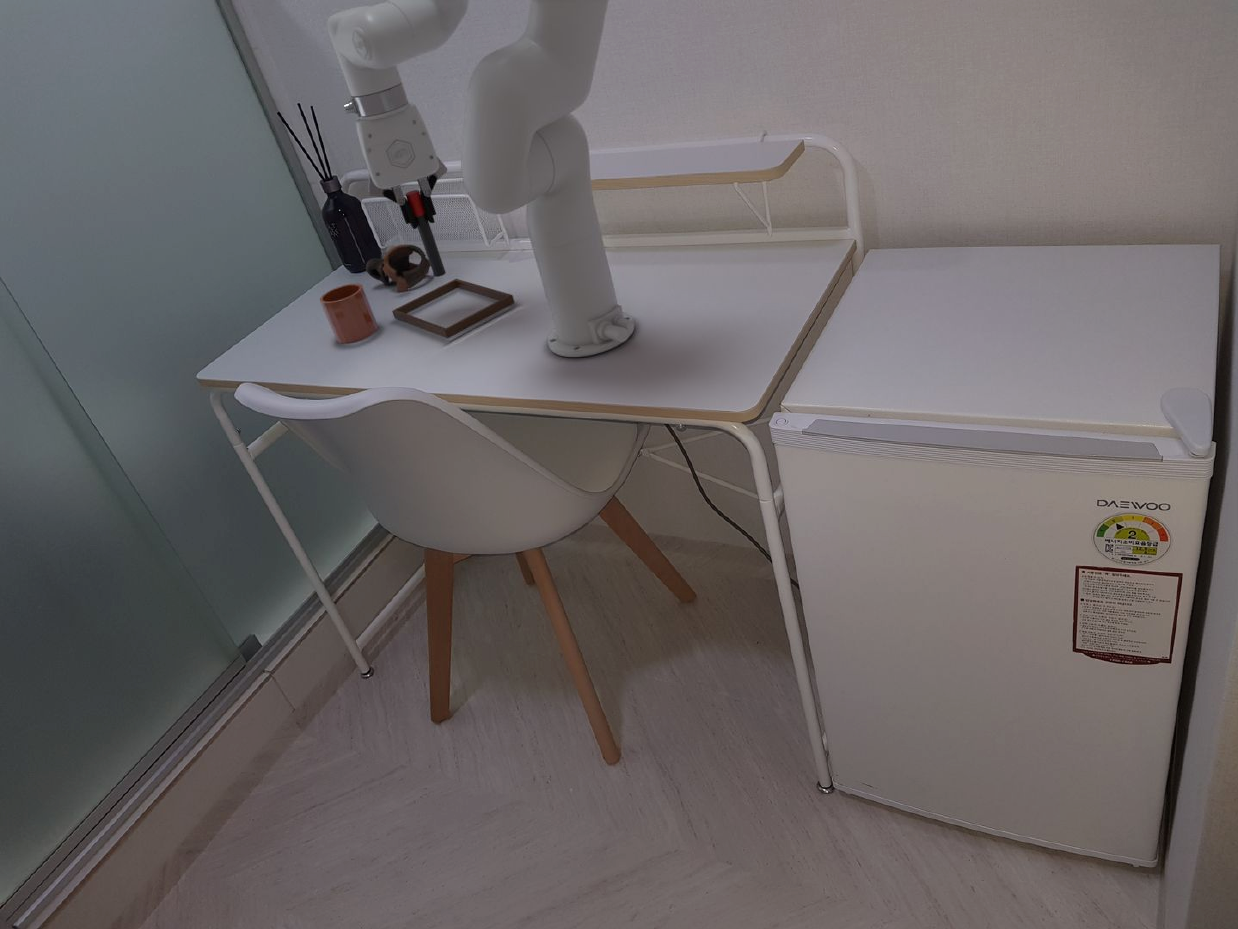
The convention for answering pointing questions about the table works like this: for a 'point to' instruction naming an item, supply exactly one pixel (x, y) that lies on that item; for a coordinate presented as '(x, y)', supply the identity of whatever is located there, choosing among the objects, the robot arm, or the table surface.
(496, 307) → the tray
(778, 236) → the table surface
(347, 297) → the pen cup
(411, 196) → the marker
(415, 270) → the pottery mug
